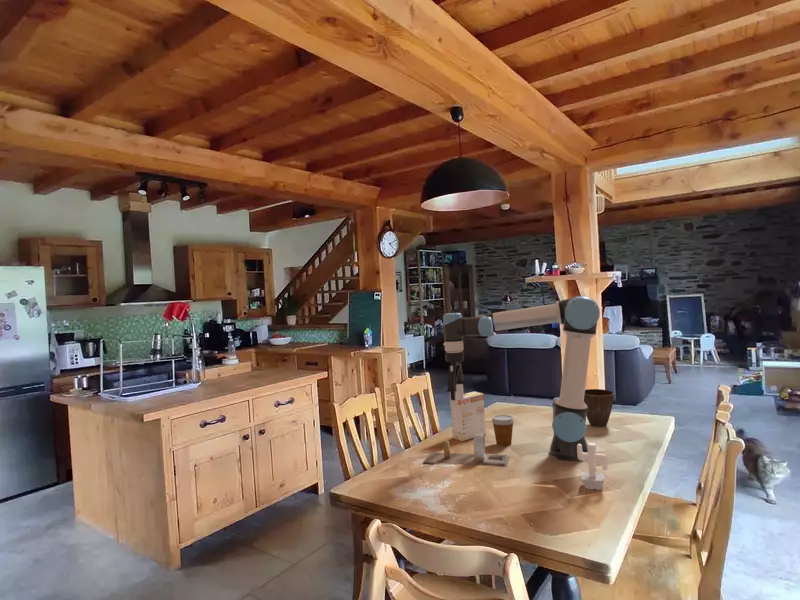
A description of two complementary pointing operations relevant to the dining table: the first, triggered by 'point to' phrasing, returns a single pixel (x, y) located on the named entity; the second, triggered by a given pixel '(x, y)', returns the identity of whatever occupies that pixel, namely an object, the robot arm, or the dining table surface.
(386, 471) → the dining table surface
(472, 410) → the coffeecake box
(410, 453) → the dining table surface
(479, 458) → the tie down link
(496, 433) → the disposable coffee cup
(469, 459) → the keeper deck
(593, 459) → the figurine
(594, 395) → the plant pot
